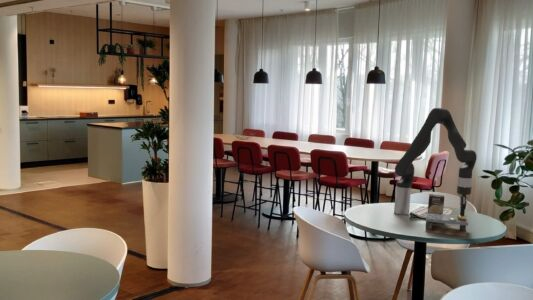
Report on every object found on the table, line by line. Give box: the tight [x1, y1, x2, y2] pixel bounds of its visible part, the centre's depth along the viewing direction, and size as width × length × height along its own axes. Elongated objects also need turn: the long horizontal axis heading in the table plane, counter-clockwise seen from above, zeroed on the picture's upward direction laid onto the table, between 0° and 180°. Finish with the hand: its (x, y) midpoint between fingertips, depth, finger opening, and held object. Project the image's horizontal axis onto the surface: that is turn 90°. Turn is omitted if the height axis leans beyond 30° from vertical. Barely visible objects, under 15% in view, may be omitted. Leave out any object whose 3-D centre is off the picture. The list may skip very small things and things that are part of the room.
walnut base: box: [425, 215, 468, 237], centre depth 310 cm, size 22×17×6 cm
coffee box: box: [426, 193, 445, 225], centre depth 329 cm, size 9×6×16 cm
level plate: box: [425, 212, 469, 227], centre depth 309 cm, size 22×16×4 cm
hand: (462, 215), depth 307 cm, fingers closed
